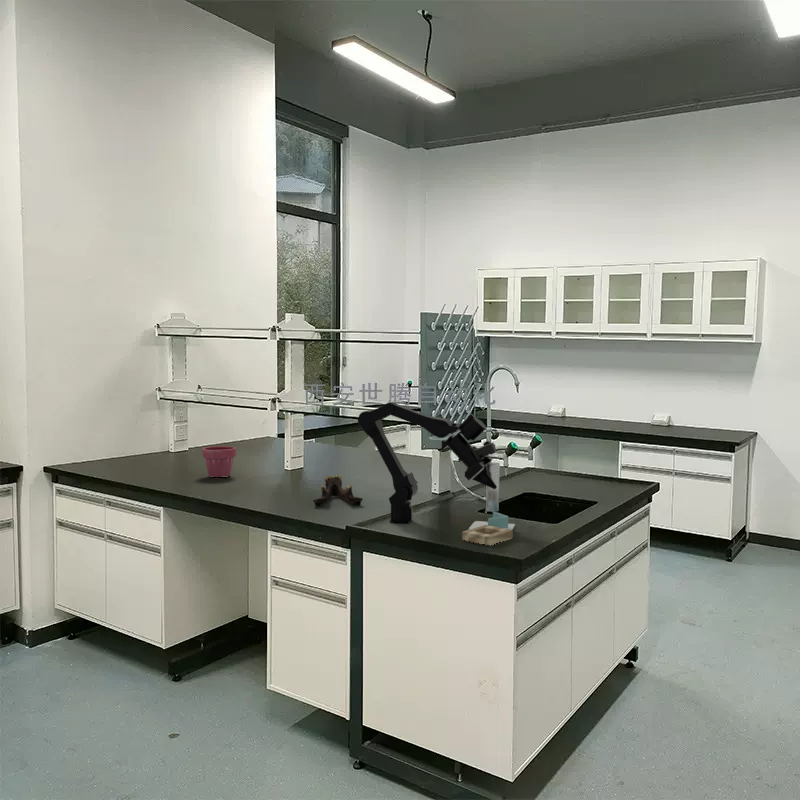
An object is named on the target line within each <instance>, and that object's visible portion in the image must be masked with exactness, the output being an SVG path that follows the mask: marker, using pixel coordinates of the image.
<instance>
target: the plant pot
mask: <svg viewBox="0 0 800 800" xmlns="http://www.w3.org/2000/svg"><path fill="white" fill-rule="evenodd" d="M236 455H237V448H236V447H235V446H228V445H227V446H226V445H224V446H223V445H222V446H220V445H219V446H218V445H217V446H215V445H214V446H205V447H202V458H204V462H205V466H206V470H207V473H208V475H207V476H208V477H209V476H213V477H222V476H229V475H230V476H231V474H232V473H231V472H232V469H233V464H234V458H235V457H237V456H236Z"/></svg>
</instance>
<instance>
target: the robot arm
mask: <svg viewBox="0 0 800 800" xmlns="http://www.w3.org/2000/svg"><path fill="white" fill-rule="evenodd" d="M390 416H392V417H394V418H398V419H400V420H403V421H406V422H409V423H411V424H414V425H416V426H419V427H422V428H423V429H425V430H426V431H427V432H428V433H430V434H431V435H433V436H435V437H437V438H440V439H443V438H446V437H448V436H449V437H448V438H446V440H444V439H443V440H441V447H440V449H441V450H445V449H446V448H447V447H448V448H449V449H450V451H451V452H452V453H453V454H454V455H455V456H456V457H457V458H458V459H457V461H459V462H460V463H462V464H463V465H464V466H465V467H466V470H465V471H464V478H465V479H466V480H468V481H470V480H471V479H472V481H475V482H477V483H480V484H482V485H484V486H488V487H491V488H493V489H496V488H497V486H496V484H495V483H494V481H493V480H492V478H491V477H490V476H489V474H488V466H487V463H493V462H492V461H493V459H494V458H492V457H491V455H494V454H495V453H497V452H498V451H497V448H496V444H495V443H494V442H491V441H489V440H486V441H484V442H483V445H482V446H480V447H478V448H477V447H476V445H475V446H474V445H471V444H470V442H468V441H476V439H477V438H479V437H480V436H481V435H482V434H483V433H484V432H485V431H486V430H487V426H486V424H484V423H483V421H482V420H480V419H479V418H478V417H476V416H475V415H474V414H473V413H471V414H469V415H468V416H467V417H466V419H465V420H464V421H463V422H462V423H460V424H459V423H456V422H453V421H451V420H450V419H449V418H445V417H439V416H434V415H433V416H432V415H427V414H424V413H421V412H419V411H417V410H414V409H411V408H409V407H406V406H403V405H400V404H398V403H396V401H395V402H394V401H389V402H387V403H385V404H384V405H382V406H379V407H376V408H375V409H369V410H365V411H362V412H360V413H359V415H358V417H357V424H358V425H359V427H360V428H361V429H362V430H363V432H364V433H365V434H366V435H367V436H368V437H369V438H370V439H371V440H372V441H373V443H374V445H375V448H376V450H377V451H378V453H379V455H380V457H381V458H382V461H383V462H384V464H385V466H386V468H387V469H388V472H389V473H390V475H391V478H392V485H393V489H394V491H395V492H393V494H392V495H391V496H390V497H389V498H388V501H389V504H390V519H389V523H391V522H410V523H411V521H412V520H413V514H414V513H413V506H412V499H413V497H414V496H415V495H416V494H417V493H418V488H419V487H418V483H419V481H417V480H416V478H415V476H414V473H413V472H410V473H408V472H407V471H406V470H405V469H404V468H403V467H404V466H402V464H401V462H400V460H399V459H398V457H397V455H396V453H395V451H394V449H393V447H392V445H391V444H390V441H389V439H388V438H387V436H386V434H385V431H384V424H383V421H382V420H384V419H386V418H388V417H390ZM458 431H459V432H458ZM456 432H458V433H457V434H455V433H456ZM453 434H455V435H453Z"/></svg>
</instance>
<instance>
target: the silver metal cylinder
mask: <svg viewBox="0 0 800 800" xmlns="http://www.w3.org/2000/svg"><path fill="white" fill-rule="evenodd" d="M487 466H488V474H489V476H490V477H491V478H492V480H493V481H494V483H495V484H496V486H497V488H496V489H493V488H491V487H488V486H486V485H485V486H486V488H485V489H486V490H485V493H486V495H485V511H486V512H491V513H493V512H497V513H498V512H499V511H500V509H499V505H500V504H499V503H500V470H501V469H500V467H501V464H500V462H492V463H491V462H490V463H487Z"/></svg>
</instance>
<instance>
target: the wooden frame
mask: <svg viewBox="0 0 800 800" xmlns="http://www.w3.org/2000/svg"><path fill="white" fill-rule="evenodd" d="M461 532H462V533H461V541H464V540H465V542H469V541H470V542H469V543H473V542H474V544H478V543H479V544H478V545H482V544H485V545H484V546H487V545H490V546H489V547H492V546H495V545H497V544H496V543H498V544H500V543H499V542H501V543H504V542H506V541H508V540H512V539H513V537H514V536H513V532H514V529H513V530H509V529H504V528H499V527H494V526H489V525H483V526H479V527H476V528H473V529H470V530H469V529H467V530H463V531H461ZM503 541H504V542H503ZM494 544H495V545H494ZM491 545H492V546H491Z"/></svg>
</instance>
